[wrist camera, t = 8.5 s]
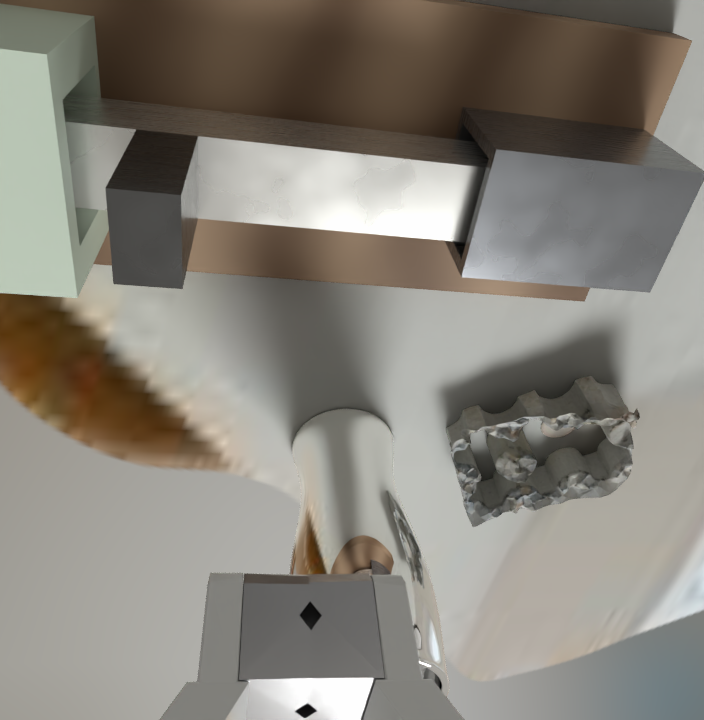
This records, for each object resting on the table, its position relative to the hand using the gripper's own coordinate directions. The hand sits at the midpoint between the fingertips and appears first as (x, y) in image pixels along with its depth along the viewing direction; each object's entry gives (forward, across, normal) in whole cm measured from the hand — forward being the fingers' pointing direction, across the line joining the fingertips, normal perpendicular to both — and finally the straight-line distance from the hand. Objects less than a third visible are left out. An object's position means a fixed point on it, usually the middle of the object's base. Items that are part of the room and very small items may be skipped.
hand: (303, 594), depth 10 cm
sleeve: (+20, -11, 0) cm, 23 cm away
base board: (+22, -1, 0) cm, 22 cm away
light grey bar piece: (+19, 0, 0) cm, 19 cm away
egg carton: (+22, -16, +16) cm, 32 cm away
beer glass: (+22, -5, +18) cm, 29 cm away
